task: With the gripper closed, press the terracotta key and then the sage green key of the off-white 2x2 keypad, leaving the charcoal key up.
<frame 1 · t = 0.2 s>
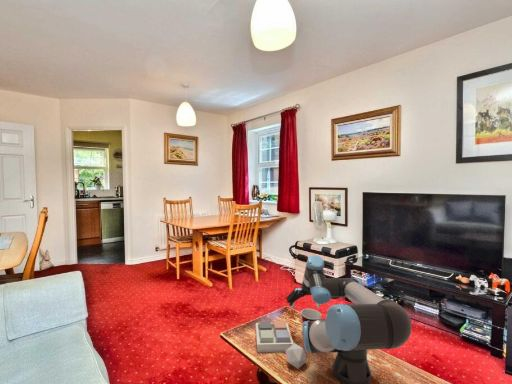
hand: (304, 307, 146), 16 cm above the table, tool tilted 35°, fingers open, 13 cm apart
keypad: (273, 340, 143), on the table
plastic cup: (310, 335, 148), on the table
key charcoal: (265, 326, 147), point 5 cm above the table, slide at 0.0 cm
die: (296, 365, 124), on the table
key slate: (282, 336, 138), point 5 cm above the table, slide at 0.0 cm
key terracotta: (279, 326, 147), point 5 cm above the table, slide at 0.0 cm
key sage: (266, 336, 138), point 5 cm above the table, slide at 0.0 cm
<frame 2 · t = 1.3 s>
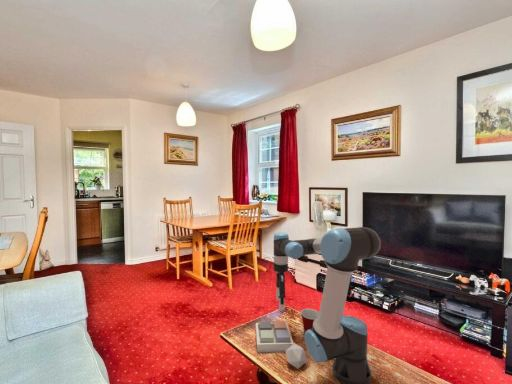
hand: (280, 304, 147), 16 cm above the table, tool pointing down, fingers open, 11 cm apart
nothing on the table moved.
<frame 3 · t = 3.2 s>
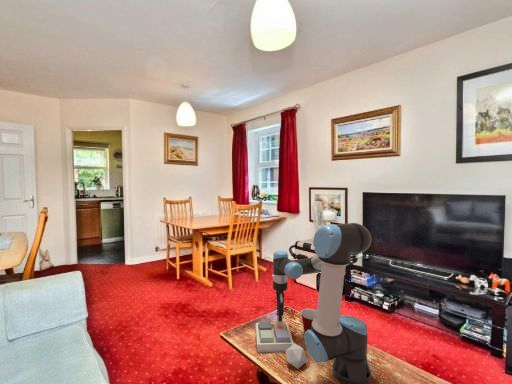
hand: (279, 326, 147), 5 cm above the table, tool pointing down, fingers closed
key terracotta: (279, 329, 147), point 3 cm above the table, slide at 1.3 cm, touching gripper
everything else where it was.
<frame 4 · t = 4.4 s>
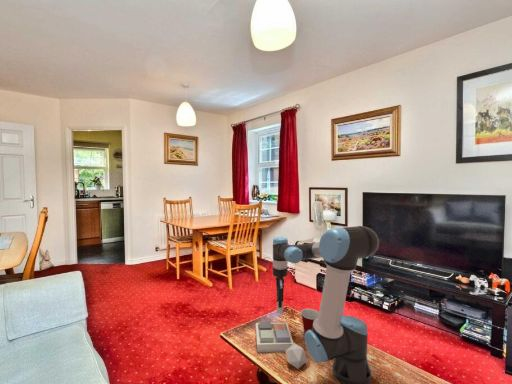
hand: (279, 312, 147), 12 cm above the table, tool pointing down, fingers closed
key terracotta: (279, 329, 147), point 3 cm above the table, slide at 1.6 cm
everything else where it was.
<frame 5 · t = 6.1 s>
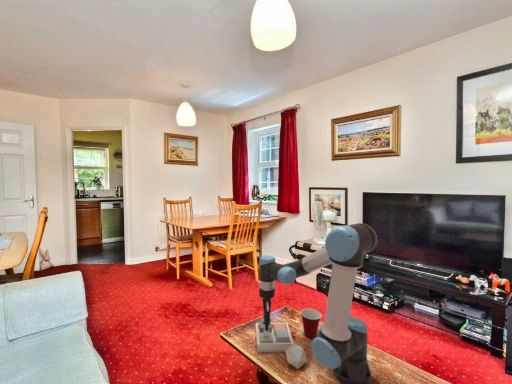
hand: (266, 335, 138), 5 cm above the table, tool pointing down, fingers closed
key sage: (266, 339, 138), point 3 cm above the table, slide at 1.3 cm, touching gripper
everything else where it was.
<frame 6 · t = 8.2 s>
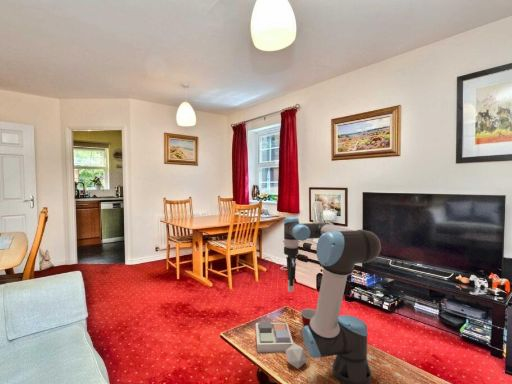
hand: (290, 291, 149), 23 cm above the table, tool pointing down, fingers closed
key sage: (266, 339, 138), point 3 cm above the table, slide at 1.6 cm
everything else where it was.
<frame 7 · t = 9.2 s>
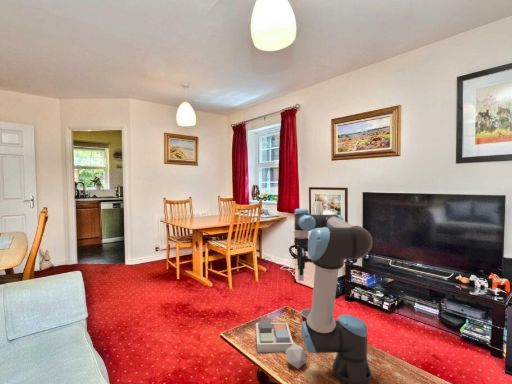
hand: (300, 280, 154), 26 cm above the table, tool pointing down, fingers closed
nothing on the table moved.
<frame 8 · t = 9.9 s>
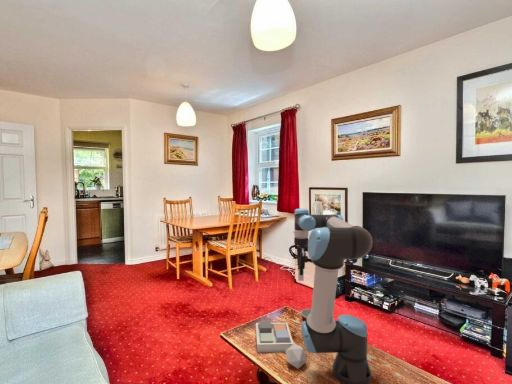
hand: (300, 280, 154), 26 cm above the table, tool pointing down, fingers closed
nothing on the table moved.
at the end: key terracotta slide at 1.6 cm; key sage slide at 1.6 cm; key charcoal slide at 0.0 cm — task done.
